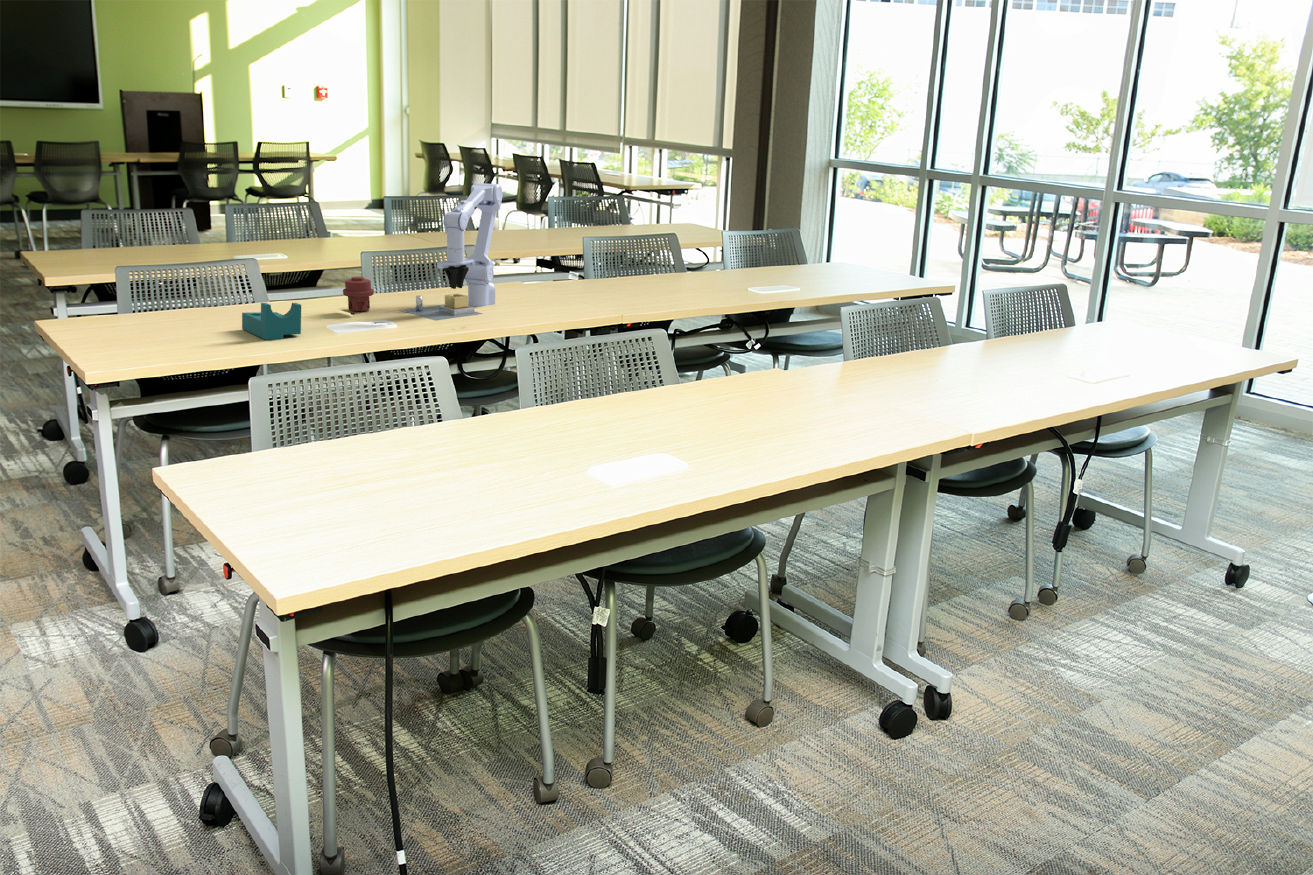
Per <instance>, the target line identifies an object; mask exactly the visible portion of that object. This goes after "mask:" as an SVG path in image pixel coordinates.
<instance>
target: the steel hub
mask: <svg viewBox="0 0 1313 875" xmlns="http://www.w3.org/2000/svg"><path fill="white" fill-rule="evenodd" d="M441 305H442V306H439V312H442V313H446V314H450V315H453V316H456V315H463V314H471V313H475V312H476V311H475V307H476V306H470V305H468V308H461V309H452V308H448V307H445V305H443V304H441Z"/></svg>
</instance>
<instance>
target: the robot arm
mask: <svg viewBox="0 0 1313 875" xmlns="http://www.w3.org/2000/svg"><path fill="white" fill-rule="evenodd" d="M502 189H503V188H502V186H501V185H500V184H499V183H482V182H481V183H480V182H476V181H475V182H474V183H473V184H472V186H471V187H470V194H469V196H468V197H467V198H466V199H465V200H464V199H462V200H460V202H459V203H458V204H457V206H455V208H454V209H453V210H452V211H448V212H446V213H445V214H444V216H443V221H442V222H443V227H444V231H445V232H444V233H445V235H446V245H447V248H446V249H447V251H446V252H447V257H446V259H447V260H444V261H438V262H436V268H437V269H440V270H441V269H443V271H444V273H445V275H446V277H447V280H448V283H449V286H450V289H453V290H456V289H457V288H458V289H462V288H463V284H464V281H465V282H466V283H467V296H468V306H472V307H476V308H477V307H487V306H488V307H489V306H494V305H495V306H496V287H495V284H494V282H492V280H493V278H494V266H495V264H494V262H493V261H492V260H491V259H490V257H489V253H490V247H491V242H492V237H493V232H494V228H495V227H494V226H495V221H496V216H497V212H498V211H499V210H501V206H502V200H503V197H504V196H503V195H504V193H503V190H502ZM475 208H477V209H478V210H480V211H481V215H480V219H479V220H480V221H479V225H478V230H477V236H476V239H475V240H476V241H475V246H474V251H473V254H471V255H470V256H468V257H467V258H466V259H465V257H466V256H465V230H466V229H467V227H468V223H469V221H470V220H469V219H470V218H471V217H472V216H473V215H474V213H475Z"/></svg>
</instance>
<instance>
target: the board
mask: <svg viewBox="0 0 1313 875" xmlns="http://www.w3.org/2000/svg"><path fill="white" fill-rule="evenodd" d="M442 305H445V303H444V304H438V305H430V306H423V311H422V312H417V311H416V307H413V308H407V309H398V311H399V312H403V313H406V314H411V315H414V316H418V317H421V318H425V319H428V320H432V321H442V320H449V319H454V318H455V319H457V318H463V317H470V316H478V315H483V314H484V313H482V312H479V311H475V313H471V314H463V315H456V316H453V315H450V314H446V313H442V312H439V306H442Z"/></svg>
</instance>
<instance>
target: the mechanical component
mask: <svg viewBox="0 0 1313 875" xmlns="http://www.w3.org/2000/svg"><path fill="white" fill-rule="evenodd" d="M371 282H372V281H371V280H370V279H368V278H365V277H363V276H352V277H351V278H347V279H345V280H344V289H342V295H344V296H345V297H347V305H348V306H347V308H348V310H349V311H350V315H352V316H354V315H355V313H357V312H359V313H360V312H361V313H362V312H366V313H368V312H369V311H370V309H371V307H370V305H371V304H370V300H371V299H370V297H372V296H373V295H375V294H374V293H375V292H374V291H375V290H374V289H373V288H372V285H371V284H372V283H371Z"/></svg>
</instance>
